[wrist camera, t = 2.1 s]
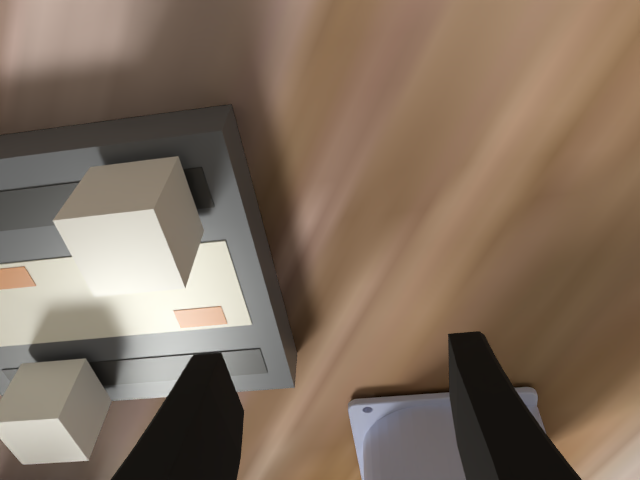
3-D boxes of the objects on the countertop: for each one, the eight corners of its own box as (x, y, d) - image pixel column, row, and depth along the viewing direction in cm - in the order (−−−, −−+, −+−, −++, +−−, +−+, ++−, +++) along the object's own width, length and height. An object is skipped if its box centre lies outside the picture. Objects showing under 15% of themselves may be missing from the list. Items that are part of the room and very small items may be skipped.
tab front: (178, 156, 18) (153, 209, 15) (203, 230, 20) (185, 288, 17) (89, 167, 18) (52, 220, 16) (123, 239, 20) (94, 297, 18)
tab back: (85, 358, 24) (57, 418, 22) (111, 401, 26) (88, 460, 23) (21, 363, 24) (-13, 423, 22) (51, 405, 26) (22, 464, 24)
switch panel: (231, 104, 19) (221, 131, 18) (297, 353, 27) (294, 389, 25) (-131, 152, 21) (-172, 182, 19) (29, 375, 29) (10, 409, 27)
